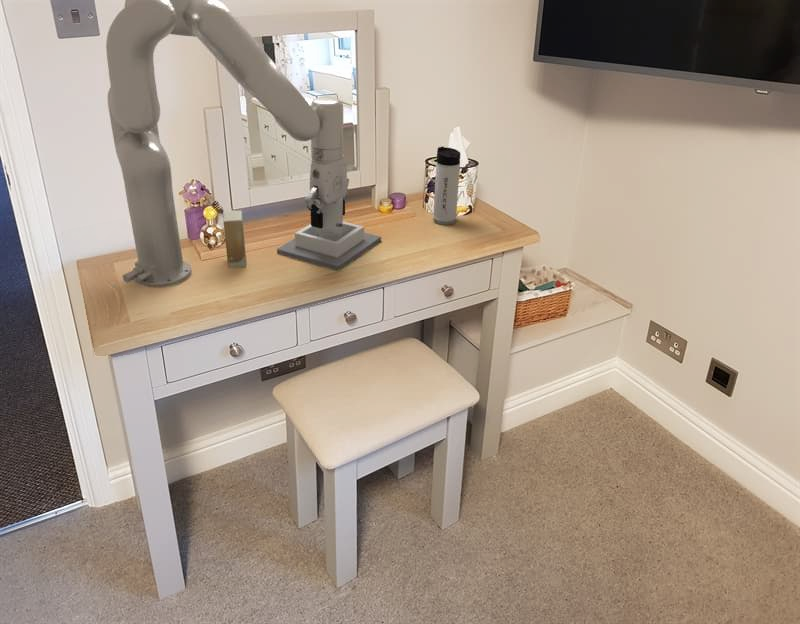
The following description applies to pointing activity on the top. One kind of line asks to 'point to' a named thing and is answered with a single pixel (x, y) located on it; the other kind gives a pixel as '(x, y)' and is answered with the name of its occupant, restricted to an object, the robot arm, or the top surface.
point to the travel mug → (446, 185)
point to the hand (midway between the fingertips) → (328, 220)
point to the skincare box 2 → (332, 220)
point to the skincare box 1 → (234, 238)
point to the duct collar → (329, 246)
